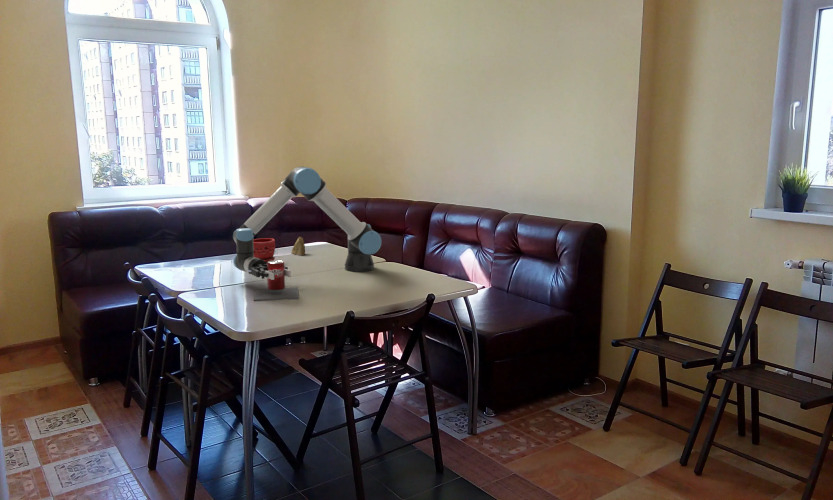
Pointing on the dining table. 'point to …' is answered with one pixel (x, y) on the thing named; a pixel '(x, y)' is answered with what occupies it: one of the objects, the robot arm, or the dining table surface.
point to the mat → (276, 294)
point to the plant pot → (264, 253)
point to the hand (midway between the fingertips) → (281, 275)
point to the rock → (299, 247)
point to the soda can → (276, 275)
